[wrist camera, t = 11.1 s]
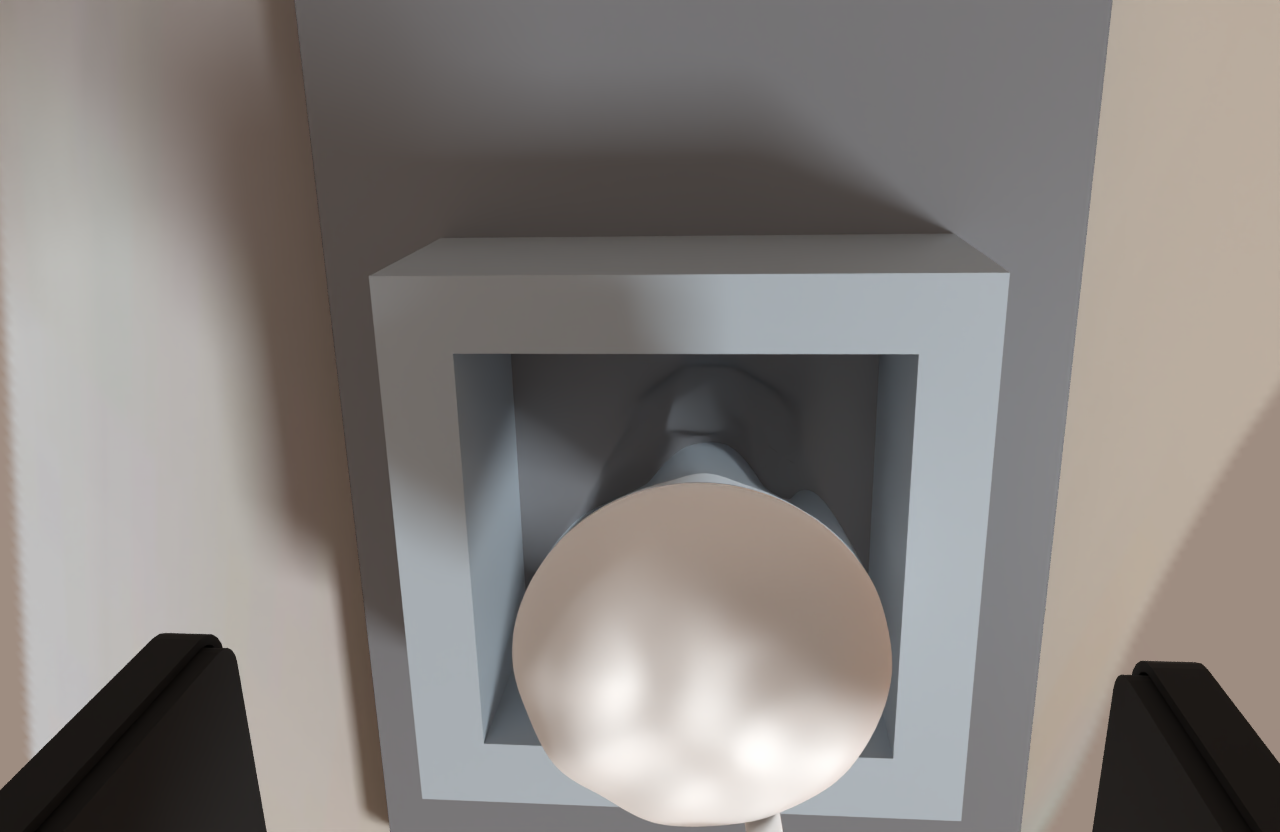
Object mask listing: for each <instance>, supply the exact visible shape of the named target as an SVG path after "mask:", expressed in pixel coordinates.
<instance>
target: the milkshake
mask: <svg viewBox="0 0 1280 832" xmlns="http://www.w3.org/2000/svg"><path fill="white" fill-rule="evenodd" d="M512 660H513V669H514V675H515V679H516V683H517V687H518V690H519V693H520V696H521V699H522V701H523V704H524V706H525V709H526V711H527V714H528V716H529V719H530V721H531V724H532V726H533V728H534V731H535V733H536V735H537V737H538V739H539V741H540V743H541V745H542V747H543V749H544V750H545V752H546V754H547V755H548V757H549V758H550V760H551V761H552V762H553V764H554V765H555V766H556V767H557V768H558V769H559V770H560V771H561V772H562V773H563V774H565V775H566V776H567V777H569V778H570V779H572V780H573V781H575V782H576V783H578V784H580V785H582V786H584V787H585V788H587V789H589V790H591V791H593V792H595V793H597V794H599V795H601V796H602V797H604V798H606V799H607V800H609V801H611V802H612V803H614V804H616V805H617V806H619V807H621V808H622V809H624V810H626V811H627V812H629V813H631V814H633V815H635V816H637V817H639V818H642V819H644V820H647V821H650V822H653V823H657V824H662V825H669V826H684V827H701V826H720V825H731V824H739V823H744V824H745V830H746V832H784V831H783V826H782V820H781V815H780V812H783V811H785V810H787V809H790V808H792V807H794V806H796V805H799V804H801V803H803V802H805V801H807V800H809V799H810V798H812V797H814V796H816V795H818V794H819V793H821V792H823V791H824V790H826V789H827V788H829V787H830V786H831V785H833V784H834V783H835V782H836V781H838V780H839V779H840V778H841V777H842V776H843V775H844V774H845V773H846V772H847V771H848V770H849V769H850V768H851V766H852V765H853V764H854V763H855V761H856V760H857V759H858V757H859V756H860V754H861V753H862V751H863V750H864V748H865V747H866V745H867V743H868V742H869V740H870V738H871V736H872V734H873V733H874V731H875V729H876V726H877V724H878V722H879V720H880V717H881V715H882V712H883V710H884V707H885V704H886V700H887V697H888V693H889V689H890V683H891V676H892V651H891V643H890V637H889V631H888V626H887V622H886V618H885V614H884V610H883V607H882V604H881V601H880V598H879V596H878V593H877V591H876V589H875V586H874V584H873V582H872V581H871V579H870V577H869V575H868V574H867V572H866V570H865V568H864V566H863V564H862V563H861V561H860V559H859V557H858V555H857V553H856V551H855V549H854V547H853V545H852V544H851V542H850V540H849V538H848V536H847V534H846V532H845V530H844V528H843V527H842V525H841V523H840V521H839V519H838V517H837V515H836V513H835V512H834V510H833V508H832V506H831V504H830V502H829V500H828V499H827V497H826V495H825V493H824V491H823V489H822V487H821V485H820V483H819V481H818V479H817V477H816V475H815V473H814V470H813V468H812V466H811V464H810V461H809V459H808V457H807V454H806V452H805V450H804V447H803V445H802V443H801V440H800V438H799V436H798V433H797V431H796V428H795V426H794V424H793V421H792V419H791V417H790V414H789V412H788V410H787V407H786V405H785V402H784V400H783V398H782V396H781V395H779V394H778V393H776V392H775V391H773V390H772V389H770V388H769V387H767V386H766V385H764V384H763V383H761V382H760V381H758V380H757V379H755V378H754V377H752V376H751V375H749V374H748V373H746V372H745V371H743V370H742V369H740V368H739V367H737V366H725V367H684V368H682V369H681V370H679V371H678V372H677V373H675V374H674V375H673V376H671V377H670V378H669V379H667V380H666V381H665V382H663V383H662V384H661V385H659V386H658V387H657V388H655V389H654V390H652V391H651V392H650V393H648V394H647V395H646V396H644V397H643V398H642V399H641V400H640V401H639V403H638V405H637V407H636V408H635V410H634V412H633V414H632V415H631V417H630V419H629V421H628V423H627V424H626V426H625V428H624V430H623V431H622V433H621V435H620V437H619V439H618V440H617V442H616V444H615V446H614V447H613V449H612V451H611V453H610V455H609V456H608V458H607V460H606V462H605V464H604V465H603V467H602V469H601V471H600V473H599V474H598V476H597V478H596V480H595V482H594V483H593V485H592V487H591V489H590V490H589V492H588V494H587V495H586V497H585V498H584V500H583V501H582V503H581V504H580V506H579V508H578V509H577V511H576V512H575V514H574V515H573V517H572V518H571V520H570V521H569V523H568V524H567V526H566V527H565V529H564V530H563V532H562V533H561V535H560V536H559V538H558V539H557V541H556V542H555V544H554V545H553V547H552V548H551V550H550V551H549V553H548V555H547V556H546V558H545V559H544V561H543V562H542V564H541V565H540V567H539V568H538V570H537V571H536V573H535V575H534V576H533V578H532V580H531V582H530V584H529V586H528V588H527V590H526V592H525V594H524V597H523V599H522V602H521V605H520V608H519V611H518V614H517V618H516V622H515V626H514V633H513V644H512Z"/></svg>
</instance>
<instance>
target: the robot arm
mask: <svg viewBox="0 0 1280 832" xmlns="http://www.w3.org/2000/svg"><path fill="white" fill-rule="evenodd" d="M0 832H267V831H266V825H265V820H264V814H263V808H262V802H261V797H260V791H259V785H258V779H257V774H256V768H255V762H254V756H253V751H252V745H251V739H250V733H249V728H248V722H247V716H246V710H245V705H244V699H243V693H242V687H241V682H240V676H239V670H238V664H237V660H236V656H235V654H234V653H233V651H232V650H230V649H229V648H222V644H221V642H220V641H219V639H218V638H217V637H216V636H214V635H212V634H178V633H163V634H159V635H157V636H156V637H154V638H153V639H152V640H151V641H150V642H149V643H148V644H147V645H146V646H145V647H144V648H143V649H142V650H141V651H140V652H139V653H138V654H137V655H136V656H135V657H134V658H133V659H132V660H131V661H130V662H129V663H128V664H127V665H126V666H125V667H124V668H123V669H122V670H121V671H120V672H119V673H118V674H117V675H116V676H115V677H114V678H113V679H112V680H111V681H110V682H109V683H108V684H107V685H106V686H105V687H104V688H103V689H102V690H101V691H100V692H99V693H98V694H97V695H96V696H95V697H94V698H93V699H91V700H90V701H89V702H88V703H87V704H86V705H85V706H84V707H83V708H82V709H81V710H80V711H79V712H78V713H77V714H76V715H75V716H74V717H73V718H72V719H71V720H70V721H69V722H68V723H67V724H66V725H65V726H64V727H63V728H62V729H61V730H60V731H59V732H58V733H57V734H56V735H55V736H54V737H53V738H52V739H51V740H50V741H49V742H48V743H47V744H46V745H45V746H44V747H43V748H42V749H41V750H40V751H39V752H38V753H37V754H36V755H35V756H34V757H33V758H32V759H31V760H30V761H29V762H28V763H27V764H26V765H25V766H24V767H23V768H22V769H21V770H20V771H19V772H18V773H17V774H16V775H15V776H14V777H13V778H12V779H11V780H10V781H9V782H8V783H7V784H6V785H5V786H4V787H3V788H2V789H1V790H0ZM1092 832H1280V763H1279V762H1278V761H1277V760H1276V758H1275V757H1274V756H1273V754H1272V753H1271V752H1270V750H1269V749H1268V748H1267V746H1266V745H1265V744H1264V743H1263V741H1262V740H1261V739H1260V737H1259V736H1258V735H1257V733H1256V732H1255V731H1254V729H1253V728H1252V727H1251V725H1250V724H1249V723H1248V722H1247V720H1246V719H1245V718H1244V716H1243V715H1242V714H1241V712H1240V711H1239V710H1238V709H1237V707H1236V706H1235V705H1234V703H1233V702H1232V701H1231V699H1230V698H1229V697H1228V696H1227V694H1226V693H1225V691H1224V690H1223V689H1222V688H1221V686H1220V685H1219V684H1218V682H1217V681H1216V680H1215V678H1214V677H1213V676H1212V674H1211V673H1210V672H1209V671H1208V669H1206V667H1205V666H1203V665H1202V664H1200V663H1196V662H1194V663H1193V662H1161V661H1140V662H1139V663H1137V664H1136V666H1135V668H1134V669H1133V672H1132V675H1120V676H1118V677H1117V679H1116V681H1115V684H1114V689H1113V695H1112V702H1111V709H1110V716H1109V722H1108V729H1107V737H1106V743H1105V750H1104V756H1103V763H1102V770H1101V777H1100V784H1099V791H1098V798H1097V804H1096V811H1095V817H1094V824H1093V831H1092Z"/></svg>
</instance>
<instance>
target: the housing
mask: <svg viewBox="0 0 1280 832" xmlns="http://www.w3.org/2000/svg"><path fill="white" fill-rule="evenodd" d="M294 1H295V9H296V18H297V27H298V35H299V44H300V53H301V61H302V70H303V79H304V87H305V96H306V105H307V113H308V122H309V131H310V139H311V148H312V157H313V165H314V174H315V183H316V192H317V200H318V209H319V218H320V226H321V235H322V244H323V252H324V261H325V270H326V278H327V287H328V296H329V304H330V313H331V322H332V330H333V339H334V348H335V356H336V365H337V374H338V382H339V391H340V400H341V409H342V417H343V426H344V435H345V443H346V452H347V461H348V469H349V478H350V487H351V495H352V504H353V513H354V521H355V530H356V539H357V547H358V556H359V565H360V573H361V582H362V591H363V599H364V608H365V617H366V626H367V634H368V643H369V652H370V660H371V669H372V678H373V686H374V695H375V704H376V712H377V721H378V730H379V738H380V747H381V756H382V764H383V773H384V782H385V790H386V799H387V808H388V817H389V825H390V832H746V830H745V824H744V823H739V824H731V825H720V826H701V827H684V826H669V825H662V824H657V823H653V822H650V821H647V820H644V819H642V818H639V817H637V816H635V815H633V814H631V813H629V812H627V811H626V810H624V809H622V808H621V807H619V806H617V805H616V804H614V803H612V802H611V801H609V800H607V799H606V798H604V797H602V796H601V795H599V794H597V793H595V792H593V791H591V790H589V789H587V788H585V787H584V786H582V785H580V784H578V783H576V782H575V781H573V780H572V779H570V778H569V777H567V776H566V775H565V774H563V773H562V772H561V771H560V770H559V769H558V768H557V767H556V766H555V765H554V764H553V762H552V761H551V760H550V758H549V757H548V755H547V754H546V752H545V750H544V749H543V747H542V745H541V743H540V741H539V739H538V737H537V735H536V733H535V731H534V728H533V726H532V724H531V721H530V719H529V716H528V714H527V711H526V709H525V706H524V704H523V701H522V699H521V696H520V693H519V690H518V687H517V683H516V679H515V675H514V669H513V660H512V644H513V633H514V626H515V622H516V618H517V614H518V611H519V608H520V605H521V602H522V599H523V597H524V594H525V592H526V590H527V588H528V586H529V584H530V582H531V580H532V578H533V576H534V575H535V573H536V571H537V570H538V568H539V567H540V565H541V564H542V562H543V561H544V559H545V558H546V556H547V555H548V553H549V551H550V550H551V548H552V547H553V545H554V544H555V542H556V541H557V539H558V538H559V536H560V535H561V533H562V532H563V530H564V529H565V527H566V526H567V524H568V523H569V521H570V520H571V518H572V517H573V515H574V514H575V512H576V511H577V509H578V508H579V506H580V504H581V503H582V501H583V500H584V498H585V497H586V495H587V494H588V492H589V490H590V489H591V487H592V485H593V483H594V482H595V480H596V478H597V476H598V474H599V473H600V471H601V469H602V467H603V465H604V464H605V462H606V460H607V458H608V456H609V455H610V453H611V451H612V449H613V447H614V446H615V444H616V442H617V440H618V439H619V437H620V435H621V433H622V431H623V430H624V428H625V426H626V424H627V423H628V421H629V419H630V417H631V415H632V414H633V412H634V410H635V408H636V407H637V405H638V403H639V401H640V400H641V399H642V398H643V397H644V396H646V395H647V394H648V393H650V392H651V391H652V390H654V389H655V388H657V387H658V386H659V385H661V384H662V383H663V382H665V381H666V380H667V379H669V378H670V377H671V376H673V375H674V374H675V373H677V372H678V371H679V370H681V369H682V368H684V367H725V366H737V367H739V368H740V369H742V370H743V371H745V372H746V373H748V374H749V375H751V376H752V377H754V378H755V379H757V380H758V381H760V382H761V383H763V384H764V385H766V386H767V387H769V388H770V389H772V390H773V391H775V392H776V393H778V394H779V395H781V396H782V398H783V400H784V402H785V405H786V407H787V410H788V412H789V414H790V417H791V419H792V421H793V424H794V426H795V428H796V431H797V433H798V436H799V438H800V440H801V443H802V445H803V447H804V450H805V452H806V454H807V457H808V459H809V461H810V464H811V466H812V468H813V470H814V473H815V475H816V477H817V479H818V481H819V483H820V485H821V487H822V489H823V491H824V493H825V495H826V497H827V499H828V500H829V502H830V504H831V506H832V508H833V510H834V512H835V513H836V515H837V517H838V519H839V521H840V523H841V525H842V527H843V528H844V530H845V532H846V534H847V536H848V538H849V540H850V542H851V544H852V545H853V547H854V549H855V551H856V553H857V555H858V557H859V559H860V561H861V563H862V564H863V566H864V568H865V570H866V572H867V574H868V575H869V577H870V579H871V581H872V582H873V584H874V586H875V589H876V591H877V593H878V596H879V598H880V601H881V604H882V607H883V610H884V614H885V618H886V622H887V626H888V631H889V637H890V643H891V651H892V676H891V683H890V689H889V693H888V697H887V700H886V704H885V707H884V710H883V712H882V715H881V717H880V720H879V722H878V724H877V726H876V729H875V731H874V733H873V734H872V736H871V738H870V740H869V742H868V743H867V745H866V747H865V748H864V750H863V751H862V753H861V754H860V756H859V757H858V759H857V760H856V761H855V763H854V764H853V765H852V766H851V768H850V769H849V770H848V771H847V772H846V773H845V774H844V775H843V776H842V777H841V778H840V779H839V780H838V781H836V782H835V783H834V784H833V785H831V786H830V787H829V788H827V789H826V790H824V791H823V792H821V793H819V794H818V795H816V796H814V797H812V798H810V799H809V800H807V801H805V802H803V803H801V804H799V805H796V806H794V807H792V808H790V809H787V810H785V811H783V812H780V815H781V820H782V826H783V831H784V832H1021V823H1022V814H1023V805H1024V796H1025V787H1026V778H1027V769H1028V760H1029V751H1030V742H1031V733H1032V724H1033V715H1034V706H1035V696H1036V687H1037V678H1038V669H1039V660H1040V651H1041V642H1042V633H1043V624H1044V615H1045V606H1046V597H1047V588H1048V579H1049V570H1050V561H1051V552H1052V543H1053V534H1054V525H1055V516H1056V507H1057V497H1058V488H1059V479H1060V470H1061V461H1062V452H1063V443H1064V434H1065V425H1066V416H1067V407H1068V398H1069V389H1070V380H1071V371H1072V362H1073V353H1074V344H1075V335H1076V326H1077V317H1078V308H1079V299H1080V289H1081V280H1082V271H1083V262H1084V253H1085V244H1086V235H1087V226H1088V217H1089V208H1090V199H1091V190H1092V181H1093V172H1094V163H1095V154H1096V145H1097V136H1098V127H1099V118H1100V109H1101V100H1102V91H1103V81H1104V72H1105V63H1106V54H1107V45H1108V36H1109V27H1110V18H1111V9H1112V0H294Z"/></svg>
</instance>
